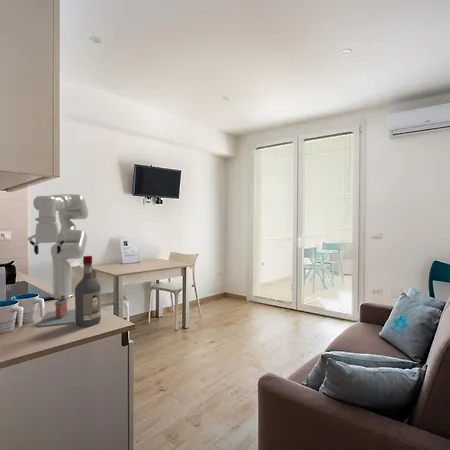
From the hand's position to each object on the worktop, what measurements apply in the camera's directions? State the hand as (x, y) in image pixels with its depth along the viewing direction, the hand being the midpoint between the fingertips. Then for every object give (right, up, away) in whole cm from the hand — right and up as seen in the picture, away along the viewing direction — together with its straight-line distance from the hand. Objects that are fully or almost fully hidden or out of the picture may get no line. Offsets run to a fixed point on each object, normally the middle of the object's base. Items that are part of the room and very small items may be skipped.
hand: (47, 253), depth 160 cm
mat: (+13, -29, -13) cm, 34 cm away
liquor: (+29, -29, -19) cm, 46 cm away
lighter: (+14, -29, -13) cm, 34 cm away
